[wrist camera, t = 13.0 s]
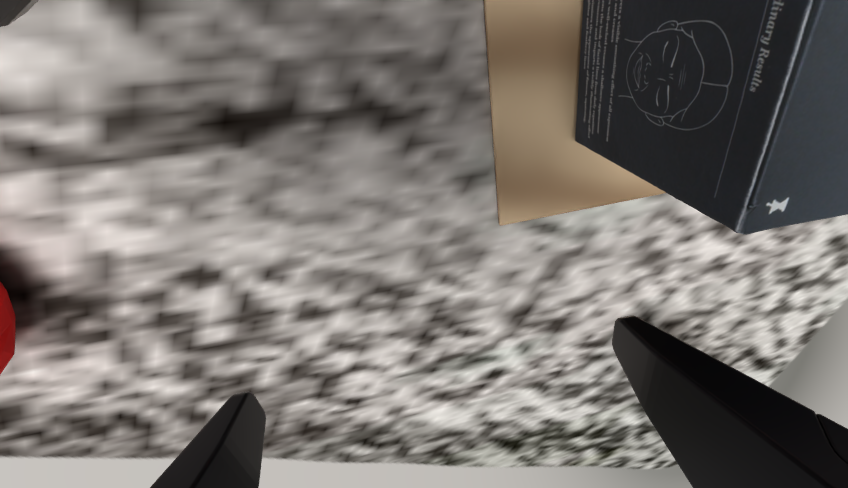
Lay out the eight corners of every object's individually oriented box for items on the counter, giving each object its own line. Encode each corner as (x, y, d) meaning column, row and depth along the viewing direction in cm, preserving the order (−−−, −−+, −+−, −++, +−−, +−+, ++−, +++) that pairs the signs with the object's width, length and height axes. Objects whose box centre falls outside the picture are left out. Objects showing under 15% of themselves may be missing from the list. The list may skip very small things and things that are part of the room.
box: (674, 123, 20) (919, 206, 11) (570, 141, 20) (731, 241, 11) (712, -63, 16) (1154, -177, 7) (582, -41, 16) (855, -125, 7)
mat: (473, -146, 14) (475, -149, 14) (785, -206, 14) (792, -210, 14) (498, 223, 22) (500, 225, 22) (694, 184, 22) (697, 186, 22)
